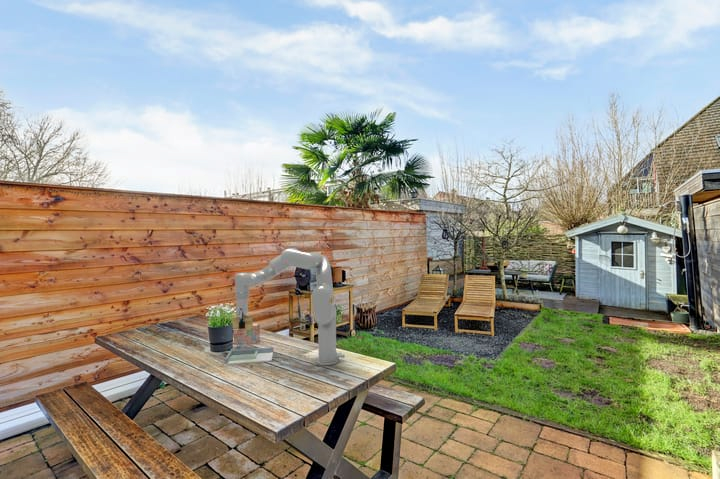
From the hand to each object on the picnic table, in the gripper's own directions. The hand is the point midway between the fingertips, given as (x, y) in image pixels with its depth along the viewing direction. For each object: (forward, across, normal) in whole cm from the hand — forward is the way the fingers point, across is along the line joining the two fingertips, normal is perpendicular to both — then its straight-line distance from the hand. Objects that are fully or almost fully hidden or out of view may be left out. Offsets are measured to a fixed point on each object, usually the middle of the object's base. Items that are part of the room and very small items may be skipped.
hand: (242, 326), depth 190 cm
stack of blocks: (+18, -30, -5) cm, 35 cm away
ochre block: (+1, 0, 0) cm, 1 cm away
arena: (+18, +1, +4) cm, 18 cm away
